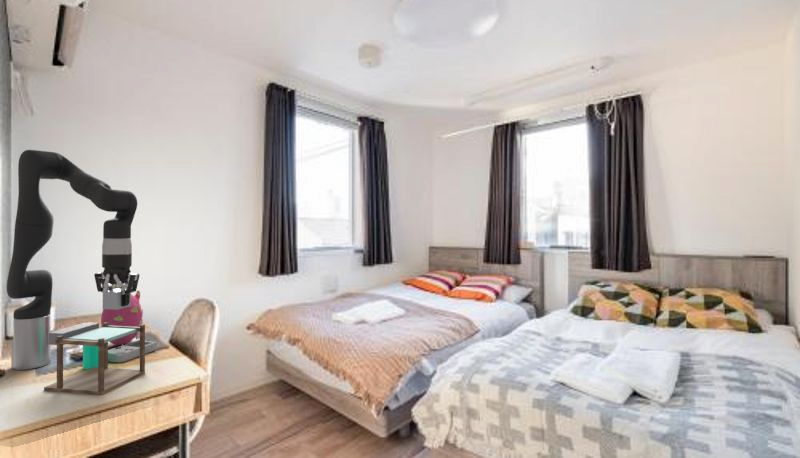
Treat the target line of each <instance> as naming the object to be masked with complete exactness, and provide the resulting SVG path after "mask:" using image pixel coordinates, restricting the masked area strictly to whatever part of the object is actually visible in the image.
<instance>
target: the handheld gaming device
mask: <svg viewBox="0 0 800 458" xmlns="http://www.w3.org/2000/svg"><path fill="white" fill-rule="evenodd" d="M157 345H158V344H157V341H150V340H145V355H146V354H149V353H151V352H154V351H156V350H157V347H158V346H157ZM137 357H140V339H137V340H135V341H132V342H129V343H127V344H125V345H121V346H116V347H114V348H110V349H108V362H109V363H110V362H112V363H117V364H119V363H123V362H127V361H130V360H132V359H136V358H137Z"/></svg>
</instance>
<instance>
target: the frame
mask: <svg viewBox="0 0 800 458" xmlns="http://www.w3.org/2000/svg"><path fill="white" fill-rule="evenodd" d="M103 327H110V328H127V329H136V331H140V337H139V340H140V356H139V369H133V368H132V369H131V368H119V367H118V368H117V367H109V361H108V350H109V342H107V343H104V338H100V339H98V341H91V340H74V339H68V338H70V337H73V336H70V337H67V338H64V339H63V336H57V339H56V340H55V344H57V345H56V382H54V383H51V384H48V385H46V386H44V388H43V389H44V390H43V391H44V392H45V391H47V392H57V393H58V392H59V393H67V394H68V393H69V394H71V393H72V394H83V395H94V396H95V395H96V396H102V395H105V394H107V393H109V392H111V391H112V390H114V389H116V388H119V387H121V386H123V385H124V384H126V383H129V382H131V381H132V380H135V379H137V378H138V377H141V376H143V375H145V374H146V367H145V366H146V357H145V356H146V354H145V341H146V324H143V323H142V325H140V327H132V326H114V325H108V323H107V322H105V323H103V325H102V326H99V328H103ZM99 328H97V329H99ZM93 330H96V329H93ZM93 330H90V331H93ZM90 331H87V332H90ZM84 333H86V332H84ZM80 334H83V333H80ZM80 334H77V335H80ZM74 336H76V335H74ZM63 344H65V345H71V346H83V345H86V346H98V367H92V368H90V369H84V371H80V372H78V373H76V374H73V375H71V376H69V377H65V378H64V345H63Z"/></svg>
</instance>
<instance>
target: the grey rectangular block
mask: <svg viewBox="0 0 800 458" xmlns="http://www.w3.org/2000/svg"><path fill="white" fill-rule="evenodd" d="M125 290H126V289H125ZM121 295H122V293H121V290H120V289H113V290H108V291H103V292H102V310H103V309H113V310H118V309H122V308H125V307H129V306H130V303H129V304H128V306H121ZM130 295H132V293H130Z"/></svg>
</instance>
